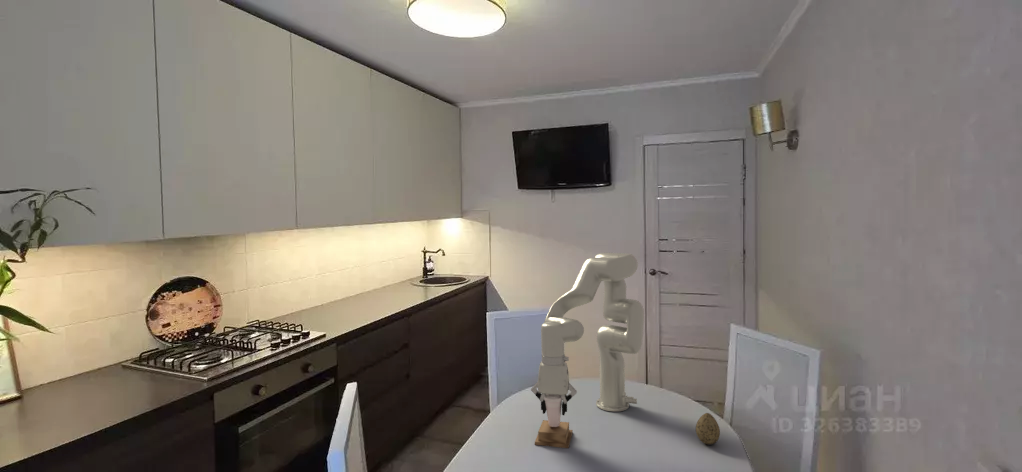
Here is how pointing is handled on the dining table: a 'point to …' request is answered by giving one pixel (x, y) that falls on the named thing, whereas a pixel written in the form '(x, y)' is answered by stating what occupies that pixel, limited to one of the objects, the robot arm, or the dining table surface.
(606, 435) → the dining table surface
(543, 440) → the pedestal
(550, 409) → the smoothie
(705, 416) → the decorative egg
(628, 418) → the dining table surface
